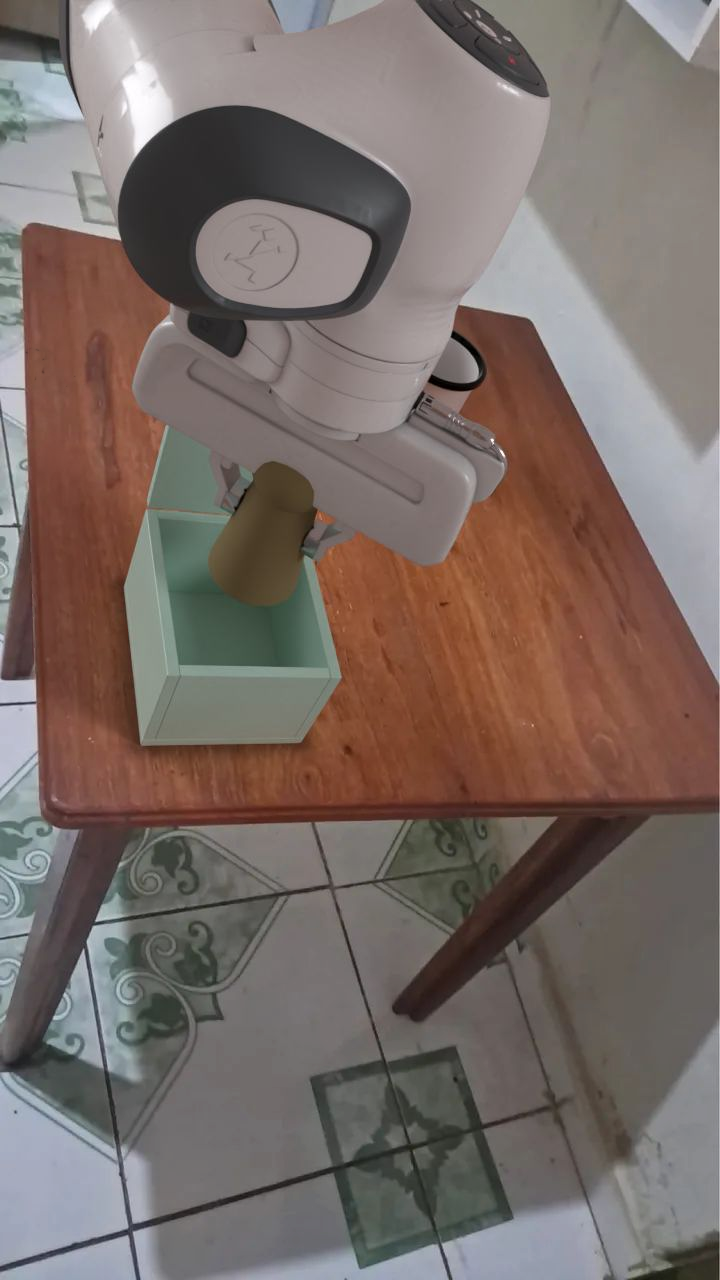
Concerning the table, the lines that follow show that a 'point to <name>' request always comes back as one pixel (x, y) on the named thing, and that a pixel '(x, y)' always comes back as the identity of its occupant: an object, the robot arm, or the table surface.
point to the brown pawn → (265, 537)
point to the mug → (456, 372)
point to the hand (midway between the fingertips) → (270, 527)
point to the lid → (185, 476)
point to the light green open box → (220, 645)
